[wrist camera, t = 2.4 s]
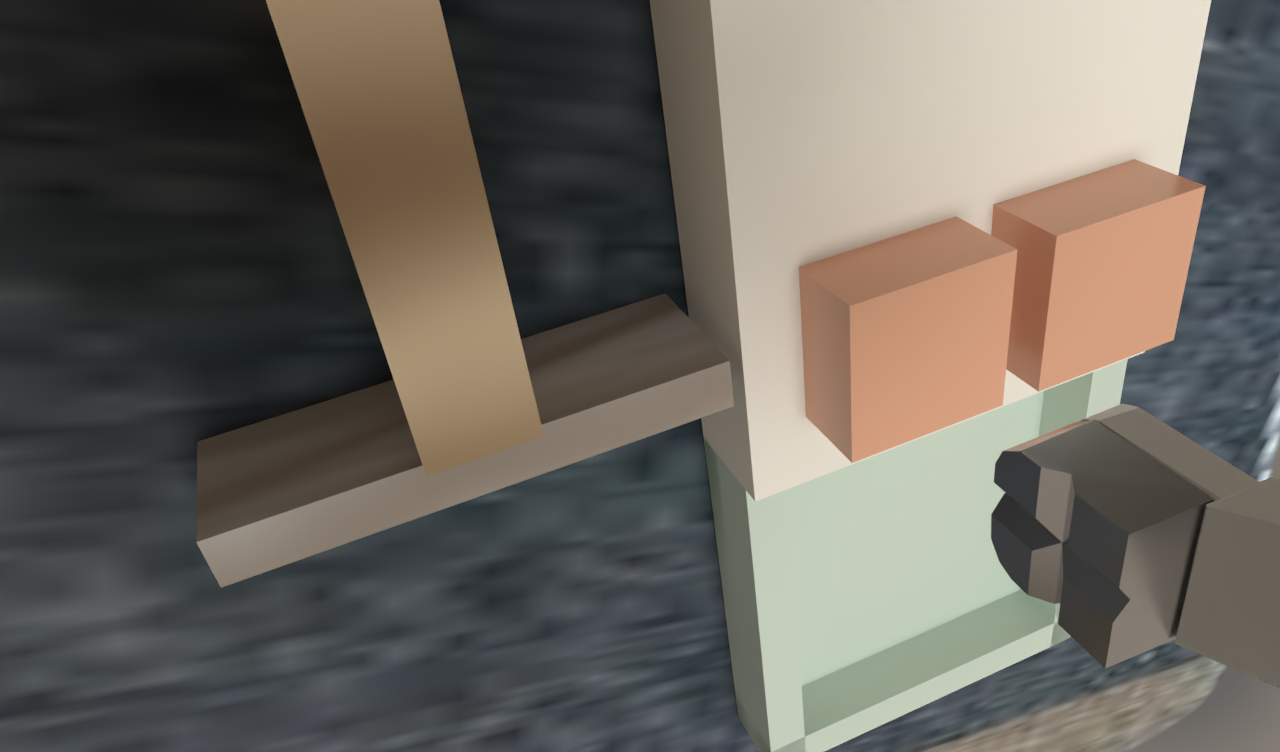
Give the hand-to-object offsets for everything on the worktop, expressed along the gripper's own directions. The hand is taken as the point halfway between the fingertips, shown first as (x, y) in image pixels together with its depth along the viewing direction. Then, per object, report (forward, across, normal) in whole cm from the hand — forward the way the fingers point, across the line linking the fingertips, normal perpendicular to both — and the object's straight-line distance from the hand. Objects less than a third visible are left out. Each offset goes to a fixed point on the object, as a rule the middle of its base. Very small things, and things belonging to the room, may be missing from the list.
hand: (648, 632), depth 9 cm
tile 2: (+10, -14, +4) cm, 18 cm away
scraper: (+13, 0, -2) cm, 13 cm away
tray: (+13, -12, +14) cm, 23 cm away
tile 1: (+10, -9, +4) cm, 14 cm away
